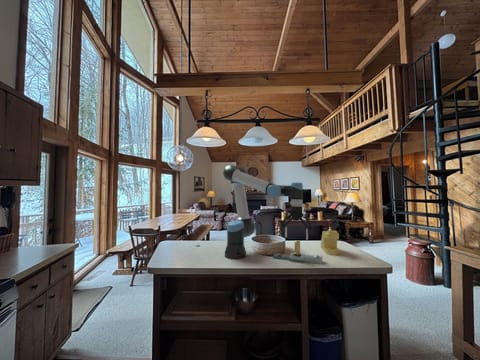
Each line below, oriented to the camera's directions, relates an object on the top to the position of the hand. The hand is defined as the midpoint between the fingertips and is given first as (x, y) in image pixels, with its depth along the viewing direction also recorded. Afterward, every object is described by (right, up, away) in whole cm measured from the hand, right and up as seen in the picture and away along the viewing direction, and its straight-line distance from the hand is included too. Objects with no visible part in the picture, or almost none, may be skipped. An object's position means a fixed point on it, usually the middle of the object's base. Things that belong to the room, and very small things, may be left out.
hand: (296, 238), depth 143 cm
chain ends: (0, -14, -1) cm, 14 cm away
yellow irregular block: (+30, -15, +18) cm, 38 cm away
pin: (+1, -14, -1) cm, 14 cm away
